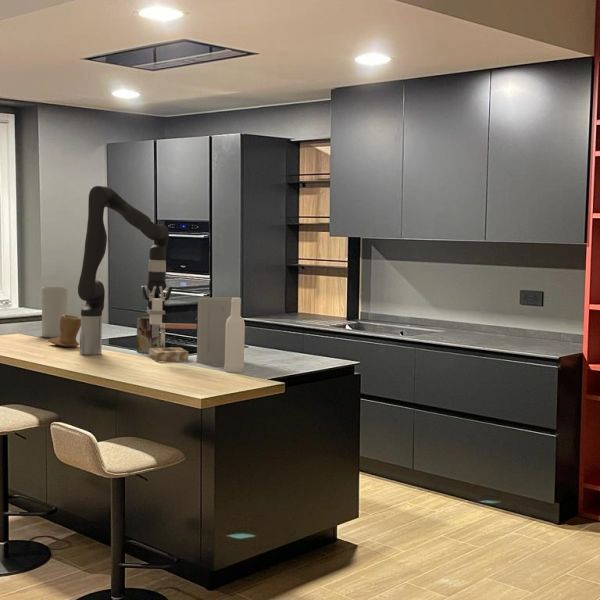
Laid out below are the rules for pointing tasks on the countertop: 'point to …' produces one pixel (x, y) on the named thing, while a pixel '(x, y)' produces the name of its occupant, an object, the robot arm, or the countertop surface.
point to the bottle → (234, 339)
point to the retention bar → (178, 326)
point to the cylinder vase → (53, 310)
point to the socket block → (168, 354)
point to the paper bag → (212, 329)
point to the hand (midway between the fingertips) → (156, 309)
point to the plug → (156, 311)
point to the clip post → (162, 338)
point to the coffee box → (147, 335)
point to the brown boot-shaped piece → (67, 331)
